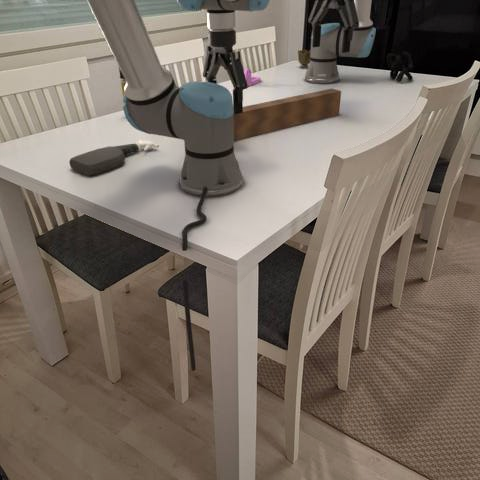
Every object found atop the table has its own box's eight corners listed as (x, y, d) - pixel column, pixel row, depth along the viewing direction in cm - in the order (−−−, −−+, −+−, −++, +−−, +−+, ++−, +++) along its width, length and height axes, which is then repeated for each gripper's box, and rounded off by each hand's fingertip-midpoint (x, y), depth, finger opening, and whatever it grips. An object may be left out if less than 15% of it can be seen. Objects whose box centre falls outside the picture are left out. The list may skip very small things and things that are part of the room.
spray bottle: (67, 168, 120) (139, 144, 136) (91, 178, 114) (163, 151, 130) (65, 157, 118) (137, 134, 134) (89, 167, 112) (162, 142, 128)
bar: (216, 145, 134) (215, 117, 129) (208, 141, 137) (207, 114, 132) (338, 114, 157) (341, 90, 153) (329, 112, 161) (331, 88, 156)
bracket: (246, 86, 195) (246, 69, 191) (236, 85, 197) (235, 68, 194) (263, 80, 203) (263, 64, 200) (253, 79, 206) (253, 63, 202)
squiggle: (400, 92, 202) (376, 71, 205) (417, 76, 202) (392, 56, 205) (405, 81, 191) (380, 59, 194) (423, 64, 191) (397, 42, 194)
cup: (294, 68, 226) (295, 51, 222) (300, 65, 232) (301, 48, 227) (308, 69, 223) (309, 52, 219) (313, 66, 229) (315, 49, 224)
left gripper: (260, 33, 114) (260, 115, 125) (210, 23, 131) (214, 96, 143) (236, 36, 110) (238, 120, 122) (187, 26, 128) (193, 100, 139)
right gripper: (377, -27, 127) (367, 53, 138) (317, -27, 145) (313, 43, 156) (359, -26, 124) (350, 56, 135) (299, -27, 141) (296, 45, 152)
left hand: (225, 107), depth 132 cm, fingers open, 13 cm apart
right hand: (330, 49), depth 145 cm, fingers open, 13 cm apart
